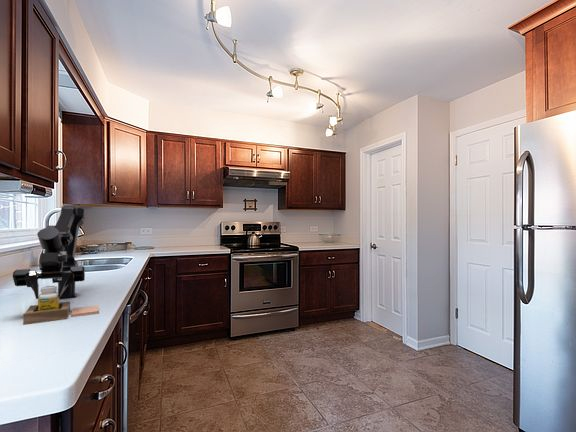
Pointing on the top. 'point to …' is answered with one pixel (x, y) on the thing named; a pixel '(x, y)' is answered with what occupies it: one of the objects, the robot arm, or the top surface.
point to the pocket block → (46, 314)
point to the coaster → (85, 311)
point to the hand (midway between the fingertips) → (48, 297)
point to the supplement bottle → (48, 298)
